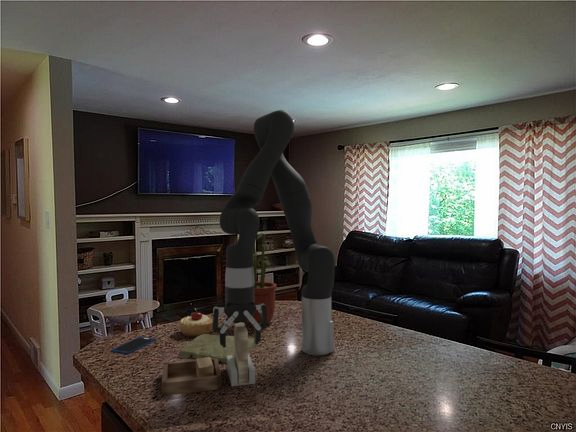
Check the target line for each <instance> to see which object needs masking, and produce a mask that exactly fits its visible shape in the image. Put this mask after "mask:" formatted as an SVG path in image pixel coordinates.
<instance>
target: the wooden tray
mask: <svg viewBox="0 0 576 432" xmlns="http://www.w3.org/2000/svg"><path fill="white" fill-rule="evenodd" d="M211 361H212V363H213V366H214V376H207V377H198V378H197V376H196V359H188V360H180V361H169V362H163V369H162V374H161V375H162V376H161V377H162V378H161V397H166V396H175V395H182V394H183V395H184V394H189V393H190V394H191V393H200V392H207V391H209V392H210V391H216V390H222V389H223V385H222V381H223V380H222V373H221V369H220V368H221V367H220V364H219V363H220V362H218V359H217V358H211Z"/></svg>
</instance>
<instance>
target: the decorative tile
mask: <svg viewBox="0 0 576 432" xmlns="http://www.w3.org/2000/svg"><path fill="white" fill-rule="evenodd" d="M257 346H258V344H255V342H254V337H248V354H249V353H250V352H251V350H252V349H253V348H254V347H255V348H256V347H257ZM229 355H232V356H233V359H234V362H235V357H234V335H226V347H225V348H223V346H221V345H220V334H216V335H215V334H210V333H209V334H202V335H200V336H198V337H194V338H193V339H192V340H191V341H190V342H188V344H186V345H185V346H183V347H182V349H180V350H179V354H178V358H179V359H180V358H181V359H183V358H184V359H185V358H187V359H189V358H193V359H195V360H196V359H198V358H205V357H210V358H217V359H218V363H220V362H221V364H222V363H225V364H227V356H229Z"/></svg>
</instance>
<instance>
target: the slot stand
mask: <svg viewBox="0 0 576 432" xmlns="http://www.w3.org/2000/svg"><path fill="white" fill-rule="evenodd" d="M226 371H227V374H228V379H229V382H230V385H231V387H235V386H237V387H238V386H246V385H255V384H256V367H255V365H254V363H253V361H252V359H251V357H250V355H249V353H248V382H246V383H238V374H237V369H236V365H235V362H234V359H233V356H232V355H229V356H227V363H226Z"/></svg>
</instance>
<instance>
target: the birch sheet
mask: <svg viewBox="0 0 576 432" xmlns="http://www.w3.org/2000/svg"><path fill="white" fill-rule="evenodd" d="M233 325H234V326H233V328H234V329H233V333H234V335H233V336H234V357H235V365H236V369H237V374H238V383H246V382H248V354H249V353H248V338H249V335H248V334H249V331H248V329H247V327H246V324H245V323H242V322H240V323H236V324H235V323H233Z"/></svg>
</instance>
